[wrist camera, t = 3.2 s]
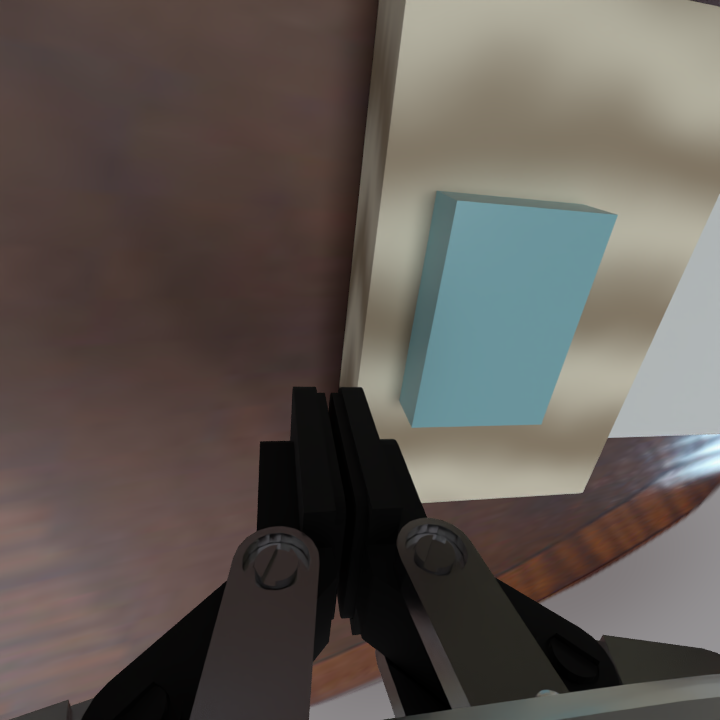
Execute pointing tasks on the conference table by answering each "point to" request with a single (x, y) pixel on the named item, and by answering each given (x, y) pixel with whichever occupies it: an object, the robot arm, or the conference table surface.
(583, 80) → the beige flat block
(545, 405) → the blue rectangular block
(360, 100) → the conference table surface
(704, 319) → the mat
